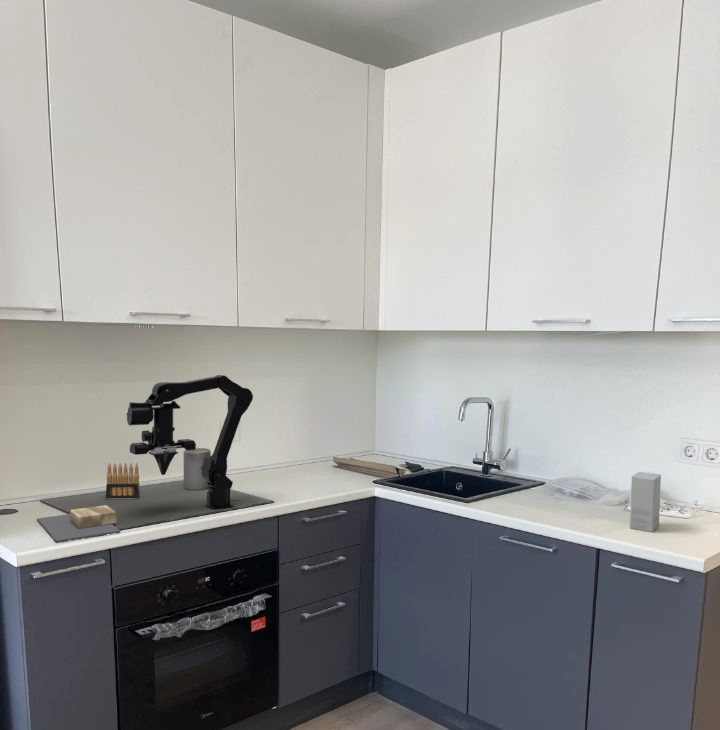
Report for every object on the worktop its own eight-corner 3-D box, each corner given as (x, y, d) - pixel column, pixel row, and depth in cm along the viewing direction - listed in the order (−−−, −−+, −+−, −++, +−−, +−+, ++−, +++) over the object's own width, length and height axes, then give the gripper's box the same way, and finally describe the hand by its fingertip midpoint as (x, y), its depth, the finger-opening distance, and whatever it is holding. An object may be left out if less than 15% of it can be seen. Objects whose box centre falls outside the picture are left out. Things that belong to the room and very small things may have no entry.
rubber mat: (94, 512, 191) (94, 510, 191) (120, 532, 170) (120, 530, 170) (36, 520, 181) (36, 518, 181) (56, 543, 161) (56, 540, 161)
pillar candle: (203, 483, 235) (202, 443, 234) (215, 487, 227) (215, 446, 227) (178, 487, 228) (178, 446, 228) (191, 491, 221) (190, 449, 220)
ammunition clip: (105, 499, 208) (105, 463, 208) (107, 498, 210) (107, 462, 210) (138, 498, 209) (138, 463, 209) (139, 497, 211) (140, 462, 211)
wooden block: (106, 505, 185) (70, 509, 179) (116, 512, 177) (78, 517, 171) (106, 515, 185) (70, 520, 179) (116, 523, 177) (78, 528, 171)
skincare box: (637, 522, 187) (638, 471, 187) (661, 527, 183) (662, 474, 183) (629, 528, 181) (630, 475, 180) (653, 533, 177) (654, 478, 176)
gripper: (183, 419, 202) (182, 467, 202) (124, 422, 191) (123, 473, 191) (196, 423, 193) (196, 473, 194) (135, 426, 182) (135, 479, 182)
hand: (163, 474), depth 190 cm, fingers closed
